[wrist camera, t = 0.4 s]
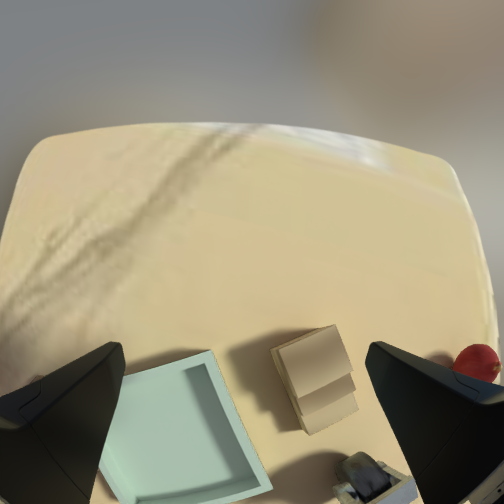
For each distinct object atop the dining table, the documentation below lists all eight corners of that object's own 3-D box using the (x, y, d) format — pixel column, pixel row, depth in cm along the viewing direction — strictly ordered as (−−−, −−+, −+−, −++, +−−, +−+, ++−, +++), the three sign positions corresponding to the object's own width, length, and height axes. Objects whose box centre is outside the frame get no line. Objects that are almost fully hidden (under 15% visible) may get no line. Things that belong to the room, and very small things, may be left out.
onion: (469, 348, 25) (516, 341, 18) (462, 392, 23) (509, 392, 16) (442, 344, 25) (493, 337, 18) (434, 392, 23) (485, 395, 16)
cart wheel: (375, 481, 19) (420, 509, 11) (335, 504, 18) (371, 541, 10) (360, 436, 21) (410, 461, 13) (316, 460, 20) (353, 497, 12)
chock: (347, 405, 22) (368, 412, 19) (301, 428, 21) (316, 441, 17) (317, 328, 25) (335, 324, 21) (268, 349, 24) (278, 349, 20)
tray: (267, 475, 19) (273, 488, 16) (138, 504, 16) (130, 517, 13) (211, 349, 23) (210, 350, 20) (80, 386, 20) (65, 389, 17)
